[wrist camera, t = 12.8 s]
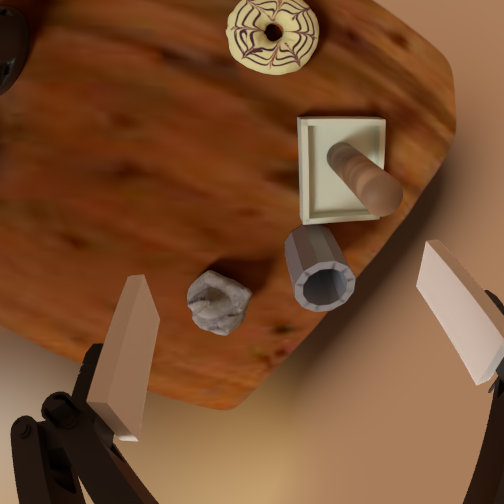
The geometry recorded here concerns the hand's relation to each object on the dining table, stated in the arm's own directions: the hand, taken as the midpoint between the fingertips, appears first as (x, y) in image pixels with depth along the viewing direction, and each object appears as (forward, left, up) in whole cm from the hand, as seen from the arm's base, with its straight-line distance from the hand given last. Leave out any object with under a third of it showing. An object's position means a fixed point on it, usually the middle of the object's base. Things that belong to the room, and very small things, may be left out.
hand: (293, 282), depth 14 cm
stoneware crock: (+16, +7, -30) cm, 34 cm away
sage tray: (+4, +11, -30) cm, 32 cm away
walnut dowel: (+3, +11, -29) cm, 31 cm away
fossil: (+22, -7, -30) cm, 38 cm away
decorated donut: (-14, +3, -30) cm, 33 cm away
